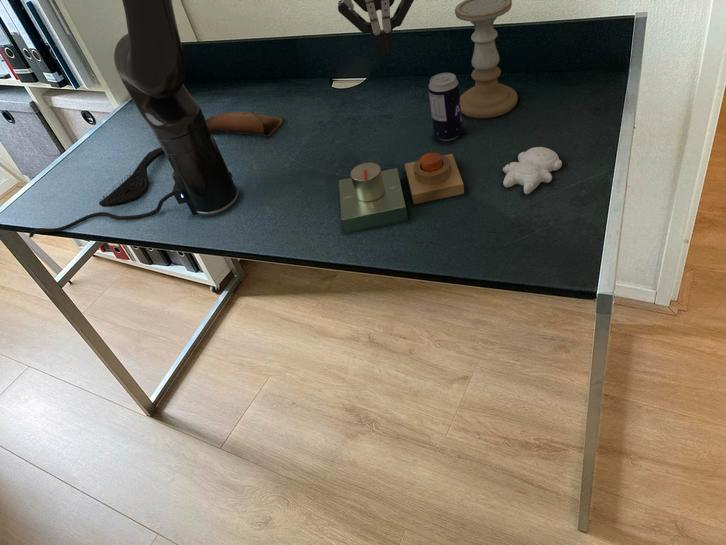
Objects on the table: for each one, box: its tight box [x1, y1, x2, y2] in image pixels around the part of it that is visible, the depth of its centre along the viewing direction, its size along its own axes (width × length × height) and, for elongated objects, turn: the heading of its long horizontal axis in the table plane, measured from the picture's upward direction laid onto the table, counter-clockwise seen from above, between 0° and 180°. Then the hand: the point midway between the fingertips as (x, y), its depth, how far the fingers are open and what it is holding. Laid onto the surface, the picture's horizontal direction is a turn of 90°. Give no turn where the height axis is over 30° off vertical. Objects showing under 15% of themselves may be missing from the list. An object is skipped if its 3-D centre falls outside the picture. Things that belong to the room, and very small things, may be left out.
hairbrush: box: [98, 146, 165, 208], centre depth 119 cm, size 8×4×25 cm
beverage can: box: [427, 72, 464, 142], centre depth 103 cm, size 6×6×12 cm
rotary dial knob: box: [349, 162, 385, 202], centre depth 92 cm, size 5×5×5 cm
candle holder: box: [454, 0, 519, 119], centre depth 106 cm, size 12×12×20 cm
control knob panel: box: [338, 167, 409, 234], centre depth 95 cm, size 11×12×3 cm
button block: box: [404, 153, 465, 205], centre depth 96 cm, size 9×10×4 cm
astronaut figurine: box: [502, 146, 563, 195], centre depth 92 cm, size 9×12×3 cm
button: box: [420, 151, 442, 172], centre depth 94 cm, size 4×4×2 cm
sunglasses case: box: [206, 111, 284, 137], centre depth 127 cm, size 18×7×7 cm
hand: (385, 54), depth 88 cm, fingers closed
